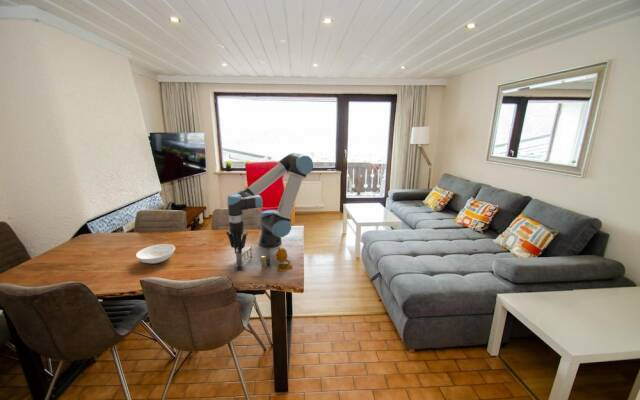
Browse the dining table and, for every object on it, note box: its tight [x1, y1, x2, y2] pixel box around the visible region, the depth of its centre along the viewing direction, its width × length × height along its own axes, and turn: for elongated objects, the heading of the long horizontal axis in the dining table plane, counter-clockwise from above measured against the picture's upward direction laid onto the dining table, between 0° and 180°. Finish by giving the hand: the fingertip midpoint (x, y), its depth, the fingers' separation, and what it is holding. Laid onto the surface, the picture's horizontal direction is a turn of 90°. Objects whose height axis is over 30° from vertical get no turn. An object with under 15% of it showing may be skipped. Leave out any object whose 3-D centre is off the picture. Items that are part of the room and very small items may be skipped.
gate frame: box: [234, 248, 271, 273], centre depth 149 cm, size 4×19×10 cm, turn 105°
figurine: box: [272, 246, 293, 272], centre depth 149 cm, size 8×11×12 cm
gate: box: [241, 245, 254, 266], centre depth 154 cm, size 12×1×8 cm, turn 165°
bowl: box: [135, 243, 176, 264], centre depth 156 cm, size 20×20×6 cm
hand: (238, 258), depth 157 cm, fingers closed
